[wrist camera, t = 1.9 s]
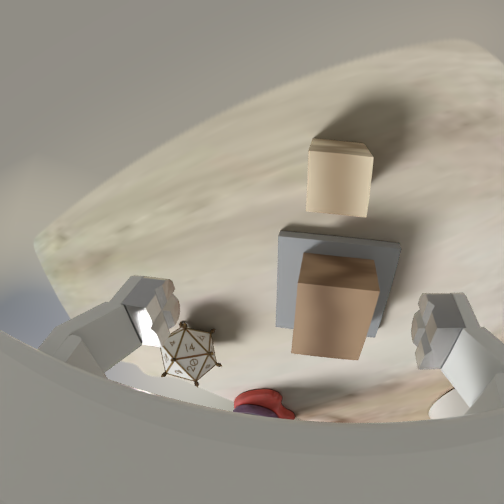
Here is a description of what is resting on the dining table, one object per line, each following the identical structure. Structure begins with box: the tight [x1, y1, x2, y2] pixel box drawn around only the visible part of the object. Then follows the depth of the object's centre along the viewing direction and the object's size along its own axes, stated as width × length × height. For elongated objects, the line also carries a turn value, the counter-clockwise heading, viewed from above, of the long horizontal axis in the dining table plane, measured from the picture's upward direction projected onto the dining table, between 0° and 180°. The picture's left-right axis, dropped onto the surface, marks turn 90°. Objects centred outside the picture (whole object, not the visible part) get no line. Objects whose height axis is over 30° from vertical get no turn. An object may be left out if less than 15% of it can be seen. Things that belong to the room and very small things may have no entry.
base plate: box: [276, 231, 401, 337], centre depth 31 cm, size 12×12×1 cm
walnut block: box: [291, 253, 380, 360], centre depth 28 cm, size 7×9×5 cm
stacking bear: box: [233, 389, 295, 420], centre depth 40 cm, size 11×10×18 cm
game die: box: [160, 322, 222, 387], centre depth 37 cm, size 9×8×10 cm
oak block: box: [306, 139, 374, 217], centre depth 22 cm, size 4×4×6 cm
